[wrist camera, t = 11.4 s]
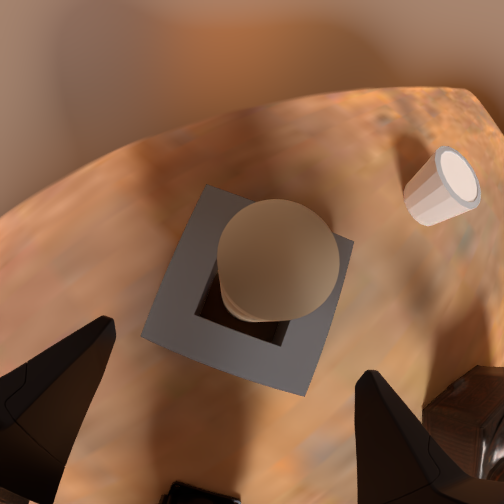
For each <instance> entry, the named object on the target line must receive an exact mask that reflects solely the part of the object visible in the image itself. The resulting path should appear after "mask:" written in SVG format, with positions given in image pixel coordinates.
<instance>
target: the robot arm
mask: <svg viewBox="0 0 504 504" xmlns="http://www.w3.org/2000/svg"><path fill="white" fill-rule="evenodd" d="M115 340H116V330H115V323H114V320H113V318H110V317H107V316H104V315H103V316H100V317H99V318H97V319H95V320H94V321H92V322H90V323H89V324H87V325H85V326H84V327H82V328H80V329H79V330H77V331H75V332H74V333H72V334H71V335H69V336H67V337H66V338H64V339H62V340H61V341H59V342H58V343H56V344H54V345H53V346H51V347H50V348H48V349H46V350H45V351H43V352H42V353H40V354H38V355H37V356H35V357H34V358H32V359H31V360H29V361H28V362H26V363H24V364H23V365H21V366H19V367H18V368H16V369H14V370H13V371H11V372H9V373H8V374H6V375H4V376H2V377H0V504H29V501H33V502H35V503H38V504H53V502H54V499H55V496H56V493H57V490H58V486H59V483H60V480H61V477H62V475H63V472H64V469H65V466H66V463H67V460H68V457H69V455H70V452H71V449H72V447H73V444H74V442H75V439H76V437H77V434H78V432H79V429H80V427H81V424H82V422H83V420H84V417H85V415H86V413H87V410H88V408H89V406H90V403H91V401H92V399H93V397H94V395H95V392H96V390H97V388H98V386H99V384H100V382H101V379H102V377H103V374H104V372H105V369H106V366H107V363H108V360H109V357H110V354H111V351H112V348H113V346H114V343H115ZM355 438H356V456H357V487H358V504H504V482H498V481H492V480H485V479H480V478H475V477H472V476H470V475H468V474H467V473H466V472H464V471H463V470H462V469H461V468H460V467H459V466H458V464H457V463H456V462H455V461H454V460H453V459H452V458H451V457H450V456H449V455H448V454H447V453H446V452H445V451H444V450H443V449H442V448H441V447H440V445H439V444H438V443H437V442H436V441H435V439H434V438H433V437H432V436H431V435H429V432H428V431H427V430H426V428H425V427H424V426H423V425H422V424H421V422H420V421H419V420H418V419H417V417H416V416H415V415H414V414H413V413H412V411H411V410H410V409H409V408H408V407H407V405H406V404H405V403H404V402H403V401H402V399H401V398H400V397H399V396H398V395H397V393H396V392H395V391H394V390H393V389H392V387H391V386H390V385H389V384H388V383H387V381H386V380H385V379H384V378H383V377H382V375H381V374H380V373H379V372H378V371H376V370H367V371H365V372H364V374H363V375H362V376H361V377H360V379H359V380H358V381H357V383H356V385H355ZM175 485H178V486H179V487H176V486H175ZM234 502H237V503H234ZM159 504H241V500H240V499H237V498H233V497H229V496H225V495H221V494H217V493H213V492H210V491H206V490H203V489H200V488H196V487H193V486H190V485H187V484H184V483H181V482H178V481H175V482H173V483H172V485H171V488H170V490H169V493H168V495H165V494H164V495H162V497H161V499H160V502H159Z"/></svg>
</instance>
